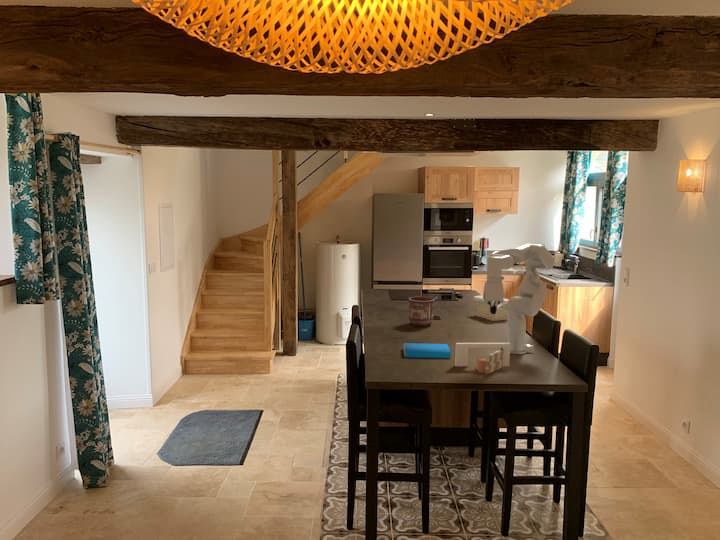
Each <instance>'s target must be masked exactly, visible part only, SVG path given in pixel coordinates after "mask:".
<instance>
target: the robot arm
mask: <svg viewBox="0 0 720 540" xmlns="http://www.w3.org/2000/svg"><path fill="white" fill-rule="evenodd" d="M520 263H524V266H525V267H524V268H525V275H524V277H523V279H522V281H521V283H520V285H519V287H518V289H517V295H518V296H517V295H514V296H510V298H508V312H509V314H508V325H507V326H508V329H507V330H508V331H507V343H510V354H513V355H525V354H527V353H528V349H529V350H530V349H531V350H533V349H534V348H535V347H534V345H530V344H526V331H527V320H526V317H525V316H530V317H531V316H532V317H535V316H536V315H537V314H539V311H540V310H541V307H542V305H543V304H544V302H545V300H546V297H547V293H548V289H547V286H545V284H543V283H540V280H541V278H540V274H539V272H538V270H545V271H549V270H553V268H554V267H555V257H554V256H553V254H552V253H551V252H550V251H549V250H548V248H547V247H546V246H544V245H543V244H539V243H524V244H521V245H519V246H517V247H514V248H508V249H501V250H498V251H497V250H496V251H494V252H492V253H490V254H489V255H488V256H487V257H486V265H487V266H486V281H485V282H484V285H483V286H484V287H483V293H482V294H483V299H484V301H483V302H484V303H487V304H489V305H490V312H491V313H492V314H496V311H497V306H498V305H499V304H500V303H503V302H504V300H503V299H504V296H505V295H504V294H505V292H504V291H505V290H504V283H503V280H505V278H504V277H503V275H502V270H509V269H511V268H513V266H514V264H520ZM493 301H494V305H493Z"/></svg>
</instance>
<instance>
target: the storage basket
mask: <svg viewBox="0 0 720 540" xmlns="http://www.w3.org/2000/svg"><path fill="white" fill-rule="evenodd" d="M503 300H504V302H503V303H500V304H499V305H498V306H497V311H496V314H492V313H491V312H490V305H489V304H487V303H484V302H483V301H484V299H483V295H482V294H481V295H475V296H473V304H474V305H473V307H474V309H473V310H474V316H475V317H478V318H481V317H482V319H484V318H485V319H484V320H488V321H491V322H492V321H493V322H496V321H498V322H499V321H506V320H509V312H508V300H509V298H504V299H503ZM493 305H494V301H493Z"/></svg>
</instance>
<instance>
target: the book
mask: <svg viewBox="0 0 720 540" xmlns="http://www.w3.org/2000/svg"><path fill="white" fill-rule="evenodd" d="M403 354H404V358H423V359H424V358H428V359H431V358H432V359H435V358H436V359H451V356H452V353H451V349H450V347H449V345H448V343H415V342H414V343H411V342H410V343H409V342H408V343H404V342H403Z"/></svg>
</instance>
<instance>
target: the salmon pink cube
mask: <svg viewBox="0 0 720 540" xmlns="http://www.w3.org/2000/svg"><path fill="white" fill-rule="evenodd" d="M485 366H486V356H484V357H483V356H482V357H478V356H477V357H476V368H477V369H476V370H477V371H478V373H485Z"/></svg>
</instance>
